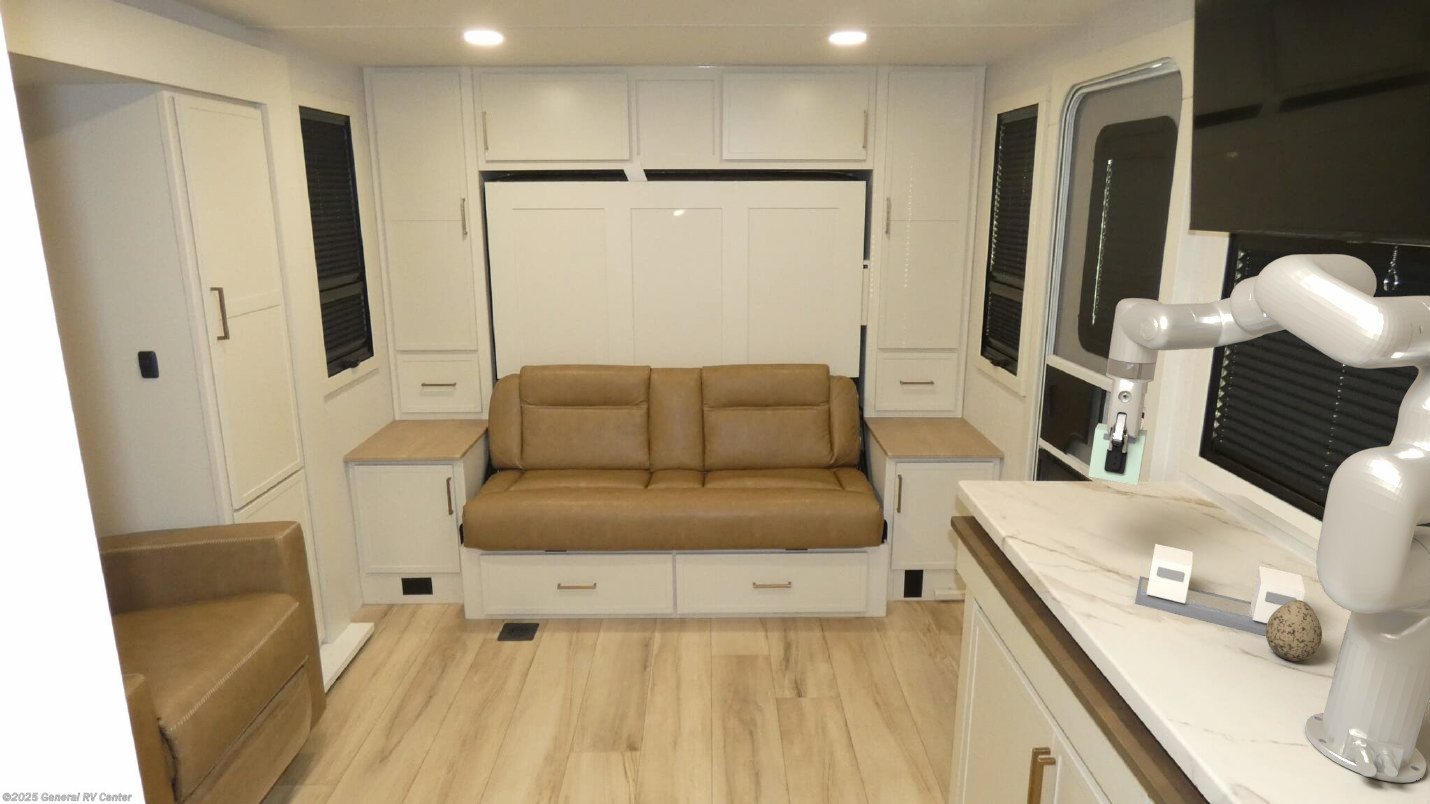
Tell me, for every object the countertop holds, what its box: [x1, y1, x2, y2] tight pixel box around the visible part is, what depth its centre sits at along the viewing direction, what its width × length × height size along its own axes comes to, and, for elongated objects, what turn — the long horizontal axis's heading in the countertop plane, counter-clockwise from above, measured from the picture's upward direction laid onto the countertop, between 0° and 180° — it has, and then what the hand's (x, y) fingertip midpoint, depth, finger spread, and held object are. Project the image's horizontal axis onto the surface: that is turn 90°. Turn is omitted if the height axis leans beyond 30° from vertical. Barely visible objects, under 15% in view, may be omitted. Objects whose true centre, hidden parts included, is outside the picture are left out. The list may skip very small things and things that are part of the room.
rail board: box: [1134, 543, 1306, 637], centre depth 140 cm, size 10×25×9 cm, turn 59°
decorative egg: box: [1265, 600, 1323, 662], centre depth 126 cm, size 7×7×10 cm
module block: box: [1087, 422, 1148, 486], centre depth 144 cm, size 5×8×9 cm, turn 59°
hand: (1115, 467), depth 145 cm, fingers closed on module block, 4 cm apart
